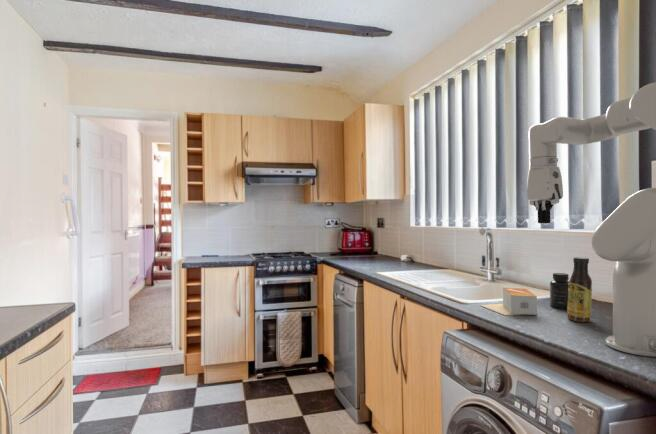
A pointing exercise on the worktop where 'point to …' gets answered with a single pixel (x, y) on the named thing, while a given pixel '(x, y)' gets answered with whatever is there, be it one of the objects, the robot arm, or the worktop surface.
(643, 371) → the worktop surface
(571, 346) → the worktop surface
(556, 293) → the supplement bottle
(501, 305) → the cork mat
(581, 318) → the sauce bottle
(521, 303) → the small box
